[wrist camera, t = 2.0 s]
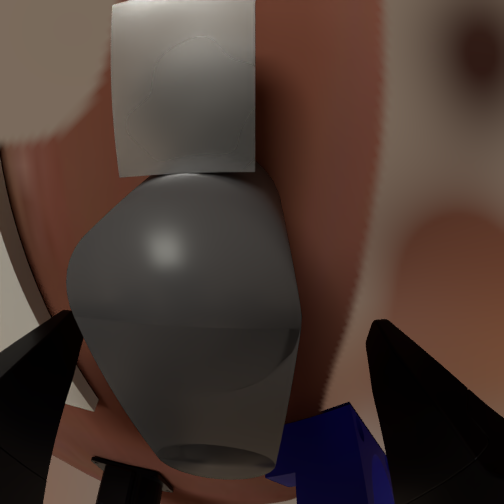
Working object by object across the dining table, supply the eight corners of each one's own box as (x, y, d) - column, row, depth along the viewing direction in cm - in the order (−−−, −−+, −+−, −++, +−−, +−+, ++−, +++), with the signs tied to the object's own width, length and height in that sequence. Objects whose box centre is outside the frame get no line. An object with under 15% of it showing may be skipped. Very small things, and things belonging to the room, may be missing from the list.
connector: (284, 24, 5) (317, -55, 2) (269, 392, 11) (271, 480, 8) (134, 35, 5) (24, 2, 2) (186, 389, 11) (171, 473, 8)
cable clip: (265, 426, 13) (265, 532, 8) (349, 401, 12) (370, 516, 7) (334, 472, 18) (341, 533, 13) (386, 456, 17) (399, 518, 12)
